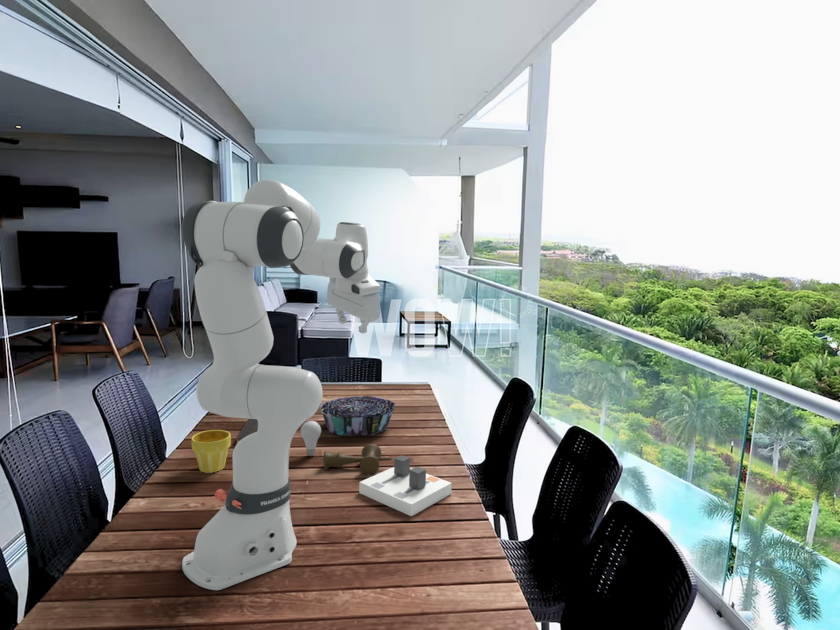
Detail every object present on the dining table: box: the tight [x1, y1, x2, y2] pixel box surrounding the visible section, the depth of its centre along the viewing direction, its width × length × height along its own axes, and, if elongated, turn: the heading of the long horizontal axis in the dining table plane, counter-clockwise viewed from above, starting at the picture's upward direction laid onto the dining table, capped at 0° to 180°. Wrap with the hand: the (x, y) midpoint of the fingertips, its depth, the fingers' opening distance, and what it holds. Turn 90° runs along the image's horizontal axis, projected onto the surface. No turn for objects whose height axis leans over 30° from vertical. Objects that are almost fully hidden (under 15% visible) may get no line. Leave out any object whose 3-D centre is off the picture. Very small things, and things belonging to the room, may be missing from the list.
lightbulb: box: [300, 420, 322, 457], centre depth 157 cm, size 6×6×11 cm
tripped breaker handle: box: [409, 466, 427, 490], centre depth 131 cm, size 3×3×4 cm
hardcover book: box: [235, 418, 258, 444], centre depth 178 cm, size 16×23×2 cm
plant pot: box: [191, 429, 232, 474], centre depth 147 cm, size 10×10×10 cm
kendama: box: [322, 443, 393, 475], centre depth 150 cm, size 6×10×20 cm
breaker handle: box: [393, 455, 411, 477], centre depth 139 cm, size 3×3×4 cm
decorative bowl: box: [319, 395, 396, 437], centre depth 185 cm, size 26×28×10 cm
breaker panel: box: [358, 466, 452, 517], centre depth 134 cm, size 16×18×3 cm
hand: (352, 327), depth 146 cm, fingers open, 8 cm apart
